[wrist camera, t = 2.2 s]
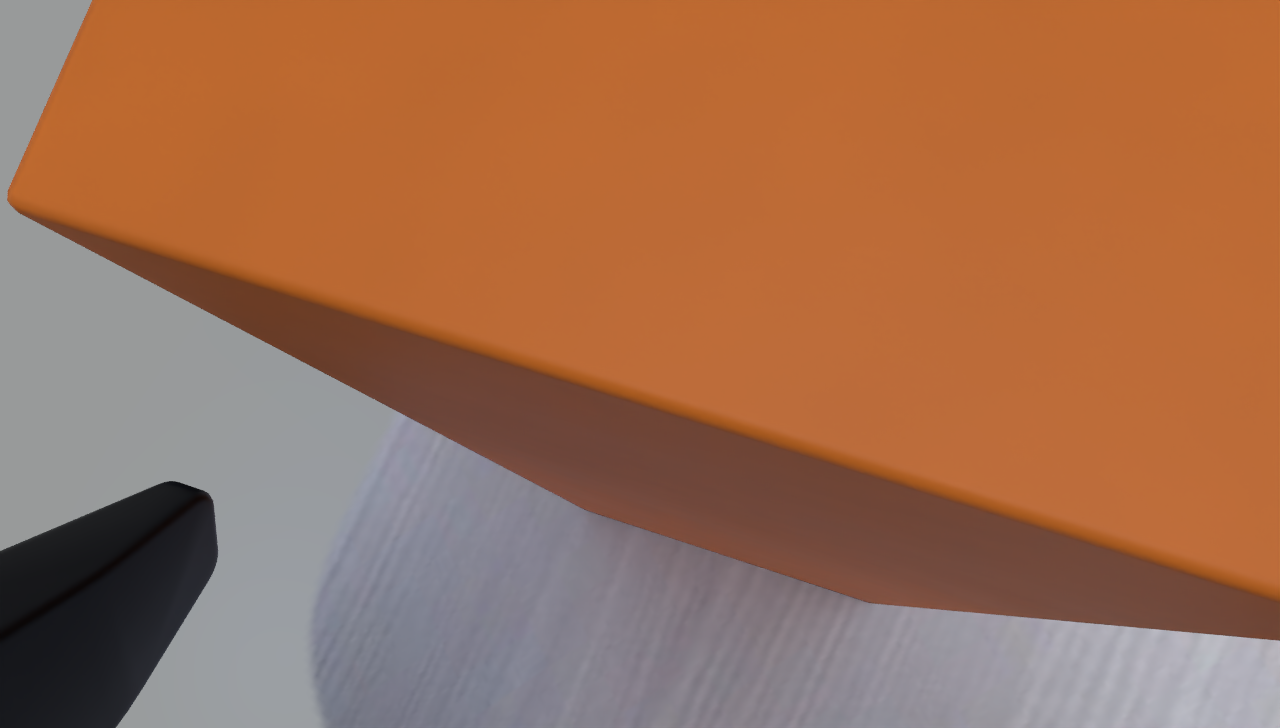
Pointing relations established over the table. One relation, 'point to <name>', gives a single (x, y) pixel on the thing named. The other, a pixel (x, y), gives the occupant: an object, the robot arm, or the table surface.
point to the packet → (751, 264)
